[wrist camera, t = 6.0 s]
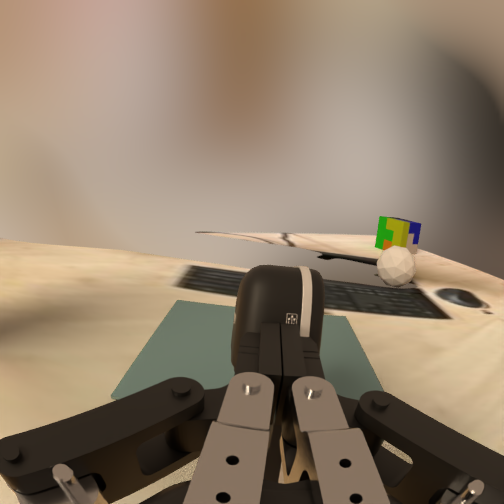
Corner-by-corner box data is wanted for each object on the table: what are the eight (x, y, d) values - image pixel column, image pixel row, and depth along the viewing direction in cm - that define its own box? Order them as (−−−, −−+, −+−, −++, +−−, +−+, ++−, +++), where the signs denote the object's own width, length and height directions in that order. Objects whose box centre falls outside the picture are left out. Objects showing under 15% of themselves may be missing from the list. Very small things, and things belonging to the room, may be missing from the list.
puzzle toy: (415, 254, 87) (421, 223, 85) (398, 255, 83) (403, 222, 81) (393, 246, 96) (397, 217, 94) (374, 247, 92) (379, 216, 89)
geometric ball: (385, 294, 57) (394, 259, 59) (418, 293, 50) (425, 255, 52) (364, 277, 54) (374, 241, 56) (399, 275, 47) (407, 234, 49)
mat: (111, 398, 19) (111, 395, 19) (177, 302, 39) (177, 299, 39) (396, 423, 19) (398, 420, 19) (344, 318, 38) (345, 316, 38)
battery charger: (223, 432, 18) (237, 267, 19) (278, 435, 18) (296, 273, 20) (221, 491, 11) (241, 255, 13) (298, 491, 11) (330, 263, 13)
